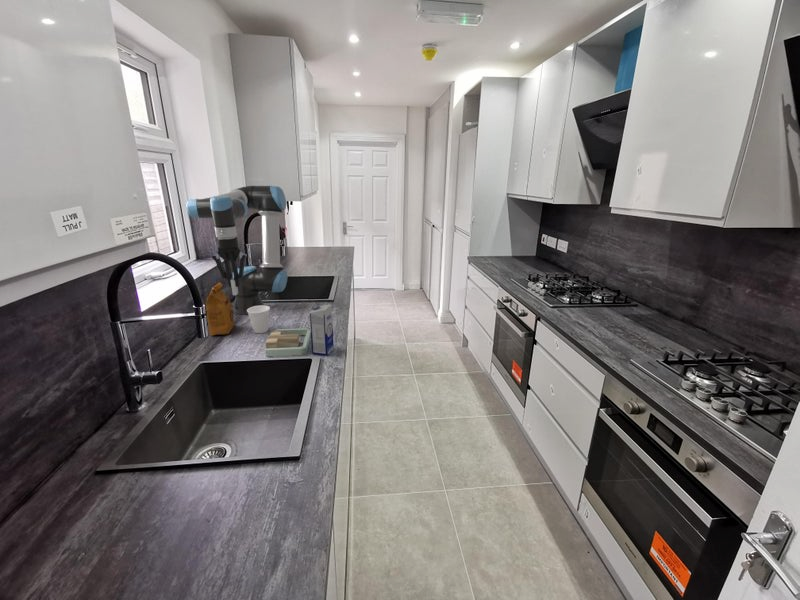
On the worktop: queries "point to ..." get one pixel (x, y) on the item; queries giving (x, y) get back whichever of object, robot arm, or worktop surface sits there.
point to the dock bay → (291, 350)
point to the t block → (282, 340)
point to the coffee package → (219, 312)
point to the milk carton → (321, 330)
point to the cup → (259, 318)
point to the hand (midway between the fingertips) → (235, 293)
